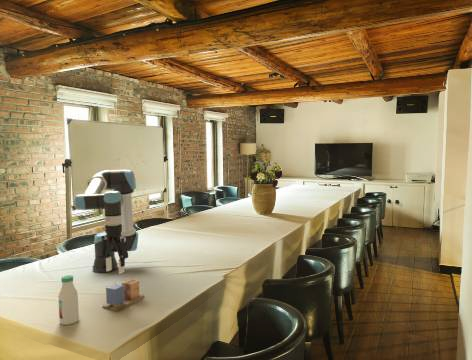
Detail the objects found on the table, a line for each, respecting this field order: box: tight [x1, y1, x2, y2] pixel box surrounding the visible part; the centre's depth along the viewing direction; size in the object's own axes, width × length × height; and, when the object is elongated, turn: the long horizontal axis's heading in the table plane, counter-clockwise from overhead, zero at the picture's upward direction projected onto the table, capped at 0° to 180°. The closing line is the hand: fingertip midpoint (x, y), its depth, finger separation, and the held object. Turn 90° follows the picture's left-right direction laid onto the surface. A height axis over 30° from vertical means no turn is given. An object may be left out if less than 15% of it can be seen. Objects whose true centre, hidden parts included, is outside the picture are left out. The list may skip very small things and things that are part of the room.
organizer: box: [102, 278, 145, 313], centre depth 174 cm, size 10×18×9 cm, turn 155°
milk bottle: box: [58, 274, 80, 326], centre depth 155 cm, size 8×8×20 cm
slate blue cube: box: [105, 283, 125, 305], centre depth 170 cm, size 6×6×8 cm
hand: (115, 271), depth 169 cm, fingers open, 7 cm apart
